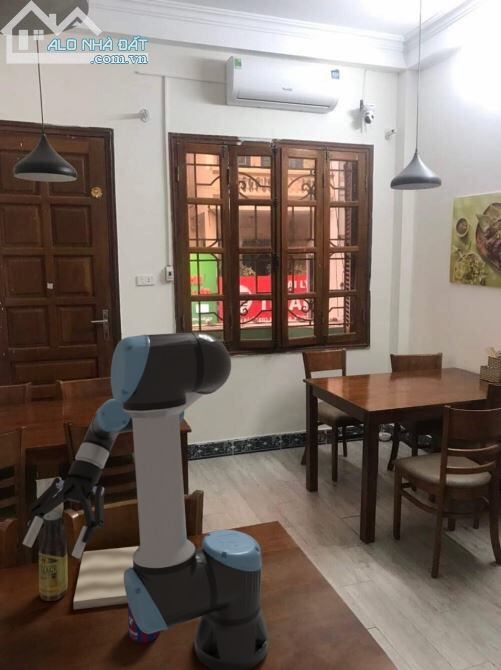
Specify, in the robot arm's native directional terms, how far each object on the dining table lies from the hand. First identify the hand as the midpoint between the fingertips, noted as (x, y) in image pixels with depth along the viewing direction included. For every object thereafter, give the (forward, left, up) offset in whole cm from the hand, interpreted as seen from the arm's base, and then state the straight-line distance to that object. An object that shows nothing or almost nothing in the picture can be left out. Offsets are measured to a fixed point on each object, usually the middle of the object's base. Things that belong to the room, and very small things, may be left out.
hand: (50, 551), depth 118 cm
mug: (-15, -22, -11) cm, 29 cm away
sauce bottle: (0, 0, -11) cm, 11 cm away
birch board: (+4, -12, -11) cm, 17 cm away
